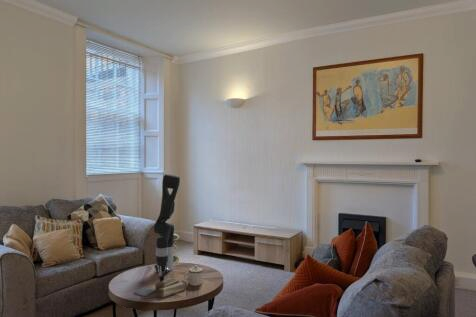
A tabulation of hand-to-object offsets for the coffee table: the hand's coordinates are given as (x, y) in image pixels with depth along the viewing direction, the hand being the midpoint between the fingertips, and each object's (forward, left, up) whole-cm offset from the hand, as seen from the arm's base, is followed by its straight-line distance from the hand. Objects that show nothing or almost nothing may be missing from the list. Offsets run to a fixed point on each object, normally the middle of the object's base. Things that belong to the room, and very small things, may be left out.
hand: (161, 281), depth 211 cm
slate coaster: (0, -12, -4) cm, 13 cm away
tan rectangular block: (+6, 0, -4) cm, 7 cm away
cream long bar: (+12, 0, -4) cm, 12 cm away
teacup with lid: (+10, +18, -4) cm, 21 cm away
